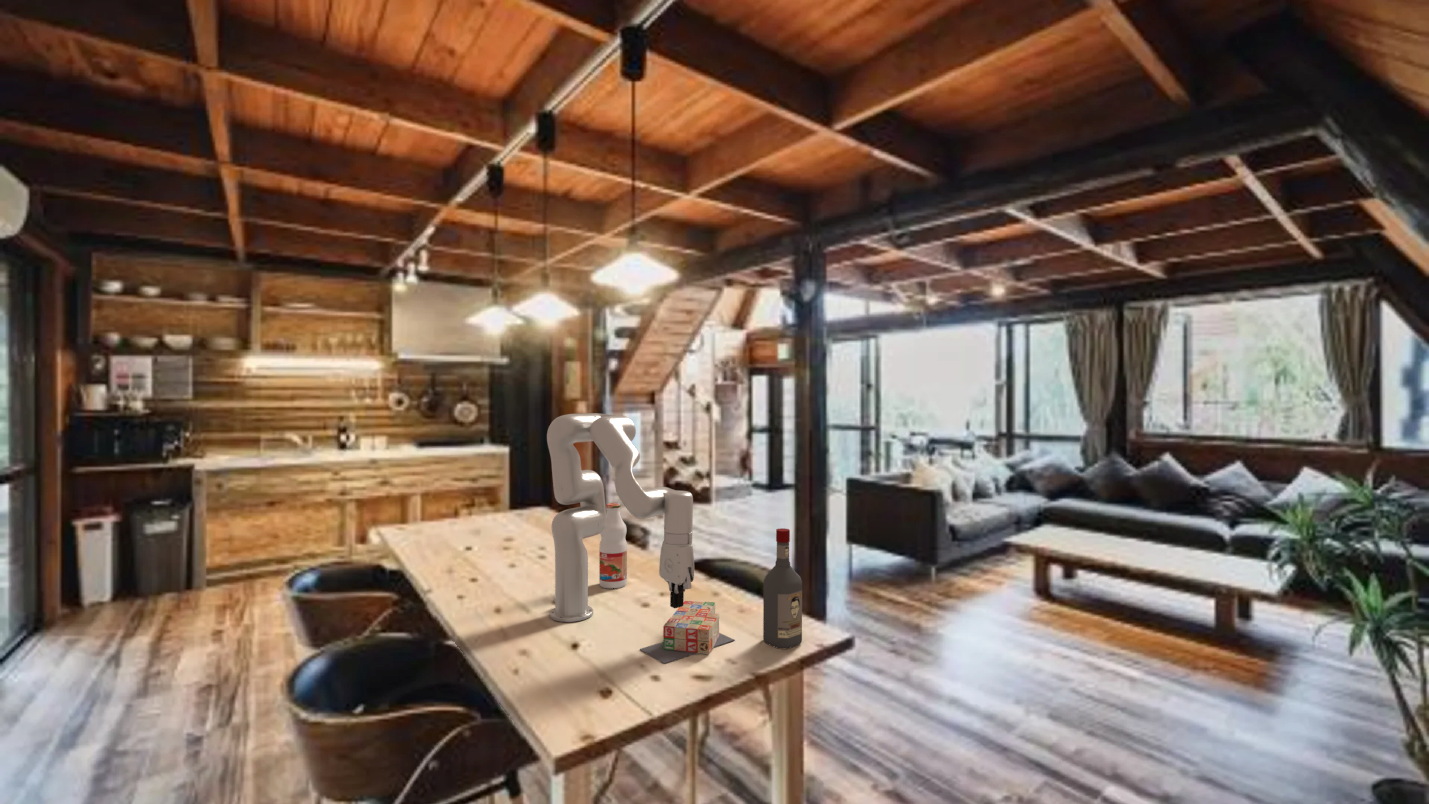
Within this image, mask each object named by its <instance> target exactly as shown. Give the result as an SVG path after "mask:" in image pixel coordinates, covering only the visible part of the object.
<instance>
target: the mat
mask: <svg viewBox="0 0 1429 804" xmlns="http://www.w3.org/2000/svg"><path fill="white" fill-rule="evenodd" d="M732 642H736V641H735V639H734V638H731V637H729V636H727V635H726V634H723V633H721V632H719V637H718V639H717V641H716V643H715V645H714V647H713V649H714V648H717V647H720V646H723V645H727V644H729V643H732ZM639 651H641V652H643V654H646V655H647V656H650V657H651V658H653V659H655V660H656V661H659V662H660V663H662V664H663V665H666V664H669V663H672V662H675V661H678V660H681V659H684V658H688V657H690V656H693V655H696V654H698V653H693V652H686V651H677V650H674V651H673V650H665V649H663V641H661V642H658V643H655V644H651V645H649V646H648V645H647V646H645V647H641V648H640V649H639Z"/></svg>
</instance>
